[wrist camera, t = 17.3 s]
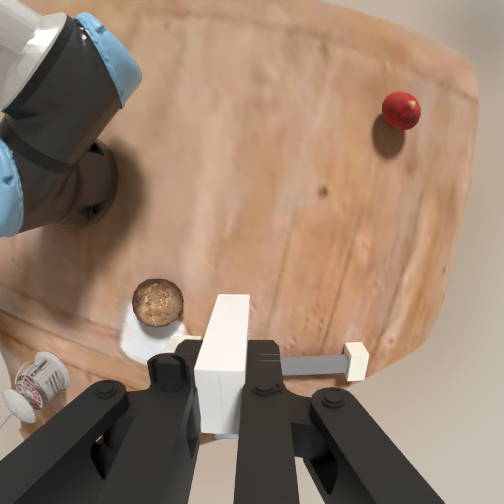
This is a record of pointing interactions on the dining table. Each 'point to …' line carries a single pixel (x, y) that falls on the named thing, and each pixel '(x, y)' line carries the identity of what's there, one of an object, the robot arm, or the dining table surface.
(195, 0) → the dining table surface
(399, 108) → the onion
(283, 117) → the dining table surface
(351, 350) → the slide rail
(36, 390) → the french press
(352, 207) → the dining table surface
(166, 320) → the mushroom
